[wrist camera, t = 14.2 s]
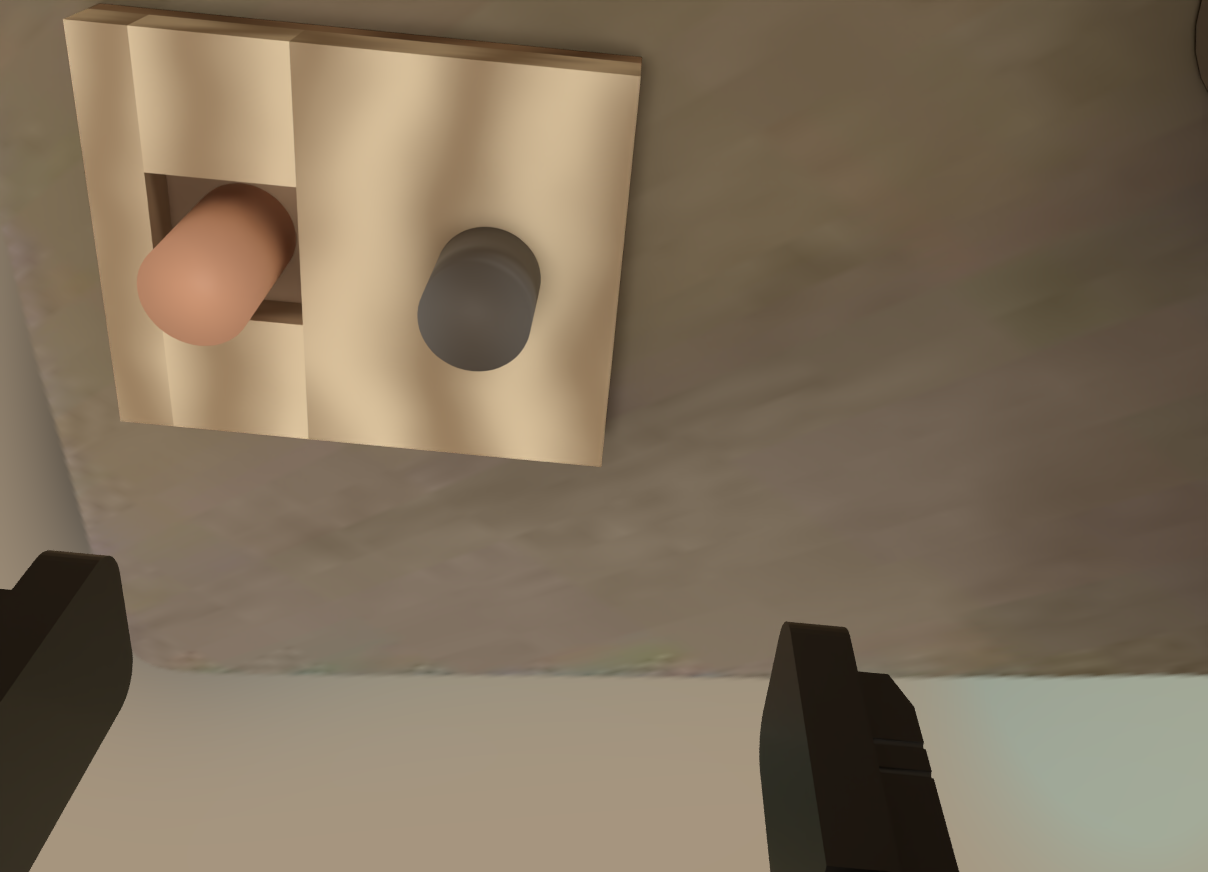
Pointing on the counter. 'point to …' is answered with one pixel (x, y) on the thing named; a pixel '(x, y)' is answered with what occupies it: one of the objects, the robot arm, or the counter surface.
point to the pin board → (368, 226)
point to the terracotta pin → (217, 265)
